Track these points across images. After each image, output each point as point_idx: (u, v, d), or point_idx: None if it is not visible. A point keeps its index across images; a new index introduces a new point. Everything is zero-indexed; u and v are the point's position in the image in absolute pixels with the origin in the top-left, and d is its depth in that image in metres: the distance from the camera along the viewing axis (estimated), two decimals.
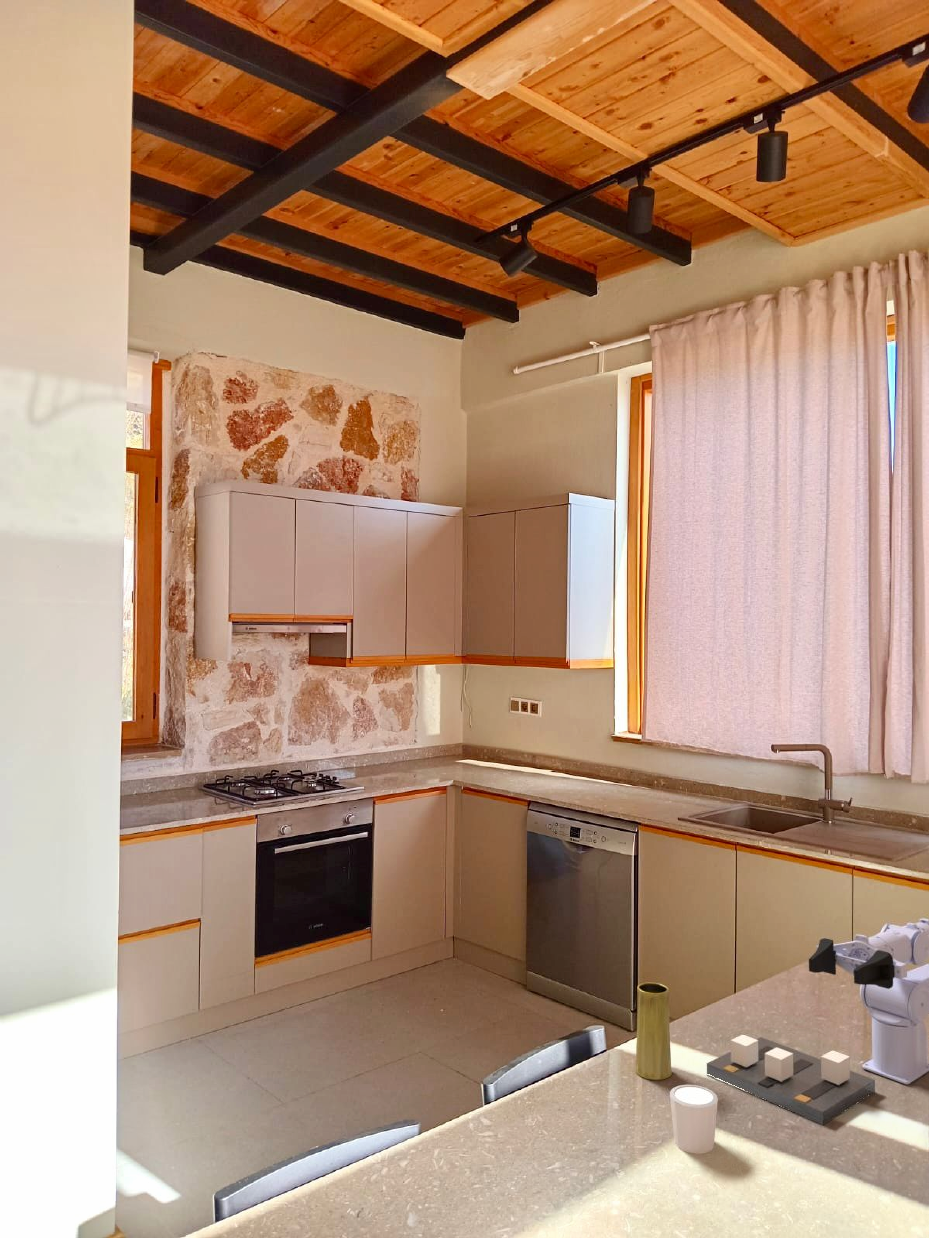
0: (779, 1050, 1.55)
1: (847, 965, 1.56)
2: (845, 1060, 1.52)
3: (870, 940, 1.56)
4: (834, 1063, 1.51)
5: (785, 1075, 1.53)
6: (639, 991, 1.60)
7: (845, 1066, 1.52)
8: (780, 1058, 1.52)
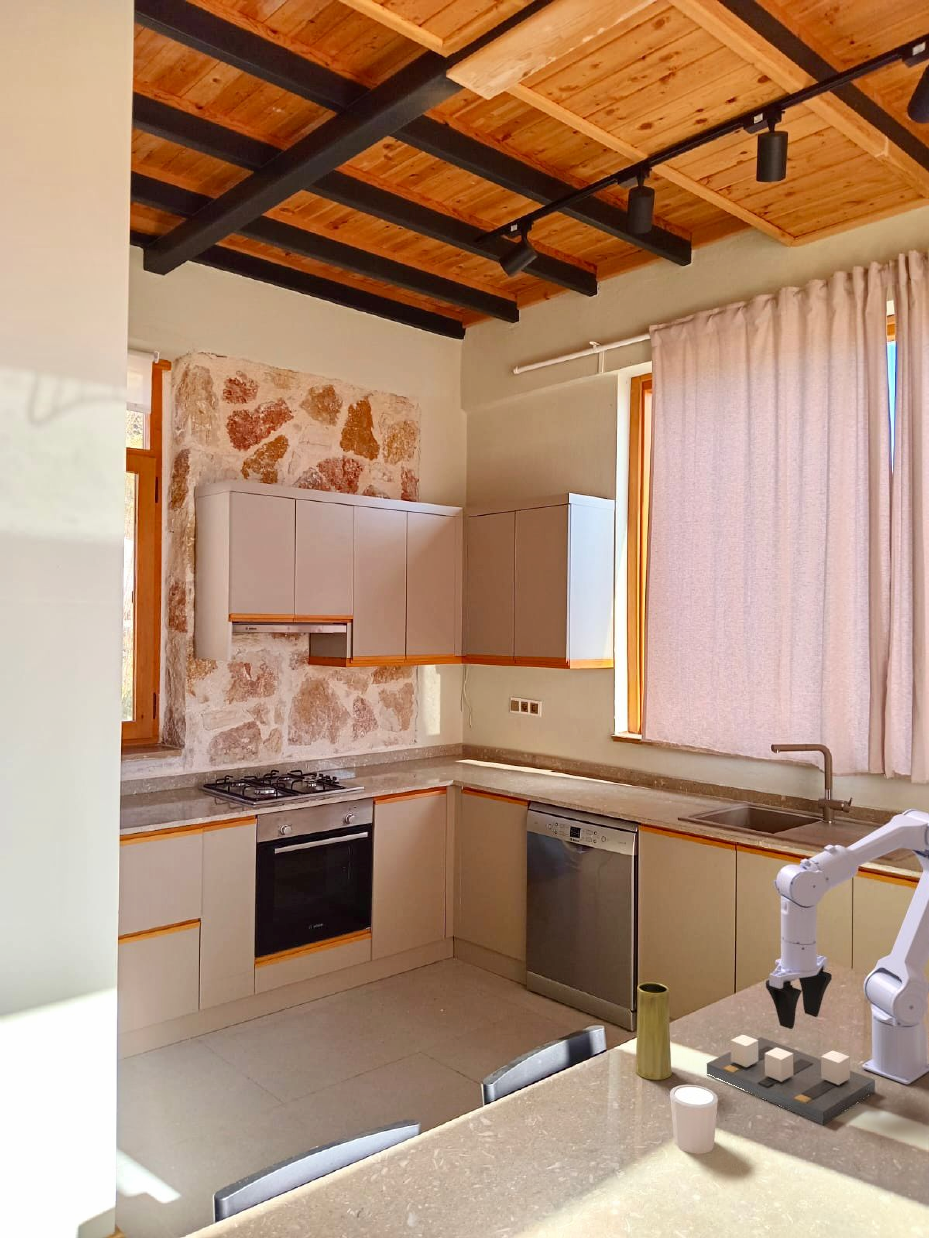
0: (779, 1050, 1.55)
1: None
2: (845, 1060, 1.52)
3: None
4: (834, 1063, 1.51)
5: (785, 1075, 1.53)
6: (639, 991, 1.60)
7: (845, 1066, 1.52)
8: (780, 1058, 1.52)
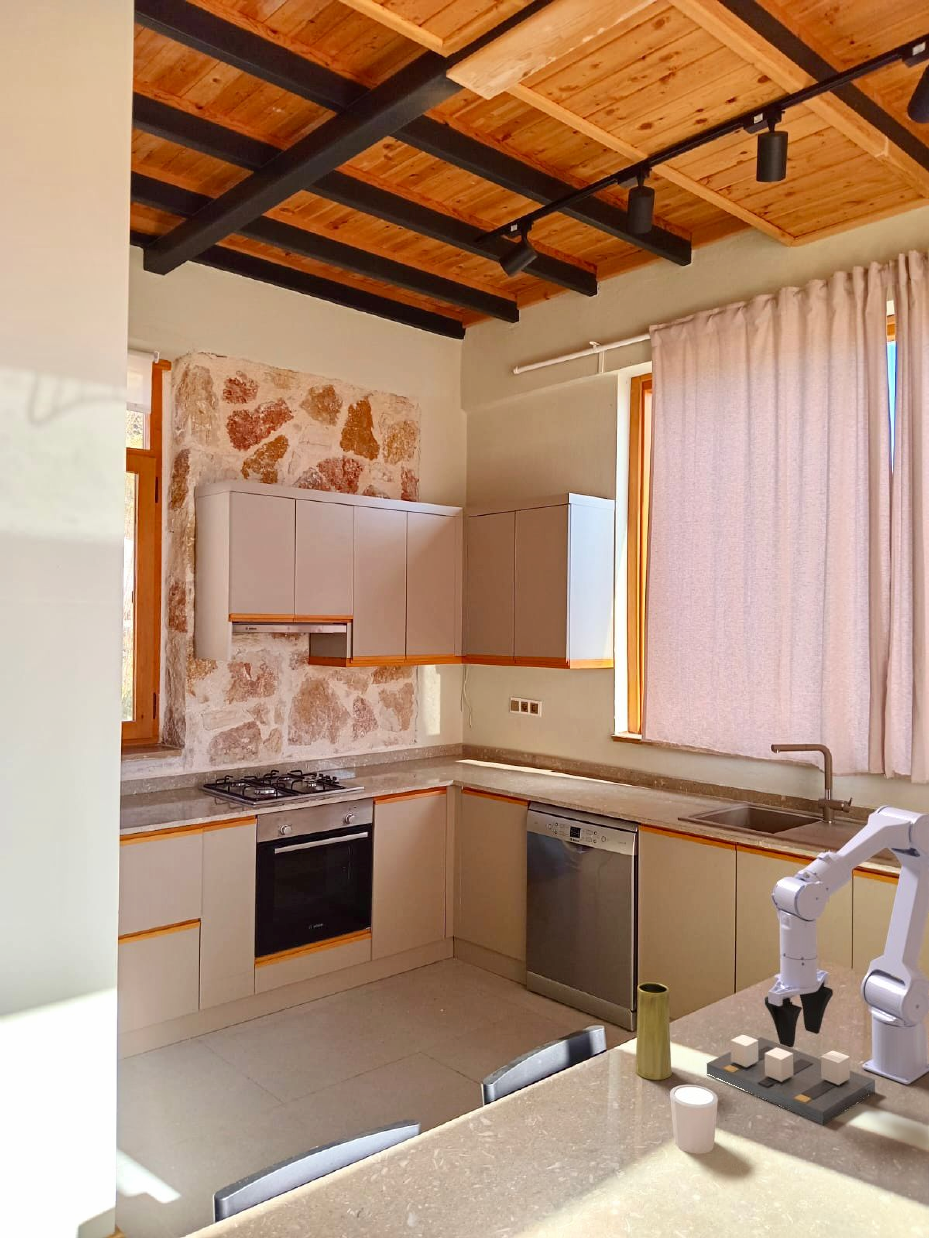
0: (779, 1050, 1.55)
1: None
2: (845, 1060, 1.52)
3: None
4: (834, 1063, 1.51)
5: (785, 1075, 1.53)
6: (639, 991, 1.60)
7: (845, 1066, 1.52)
8: (780, 1058, 1.52)
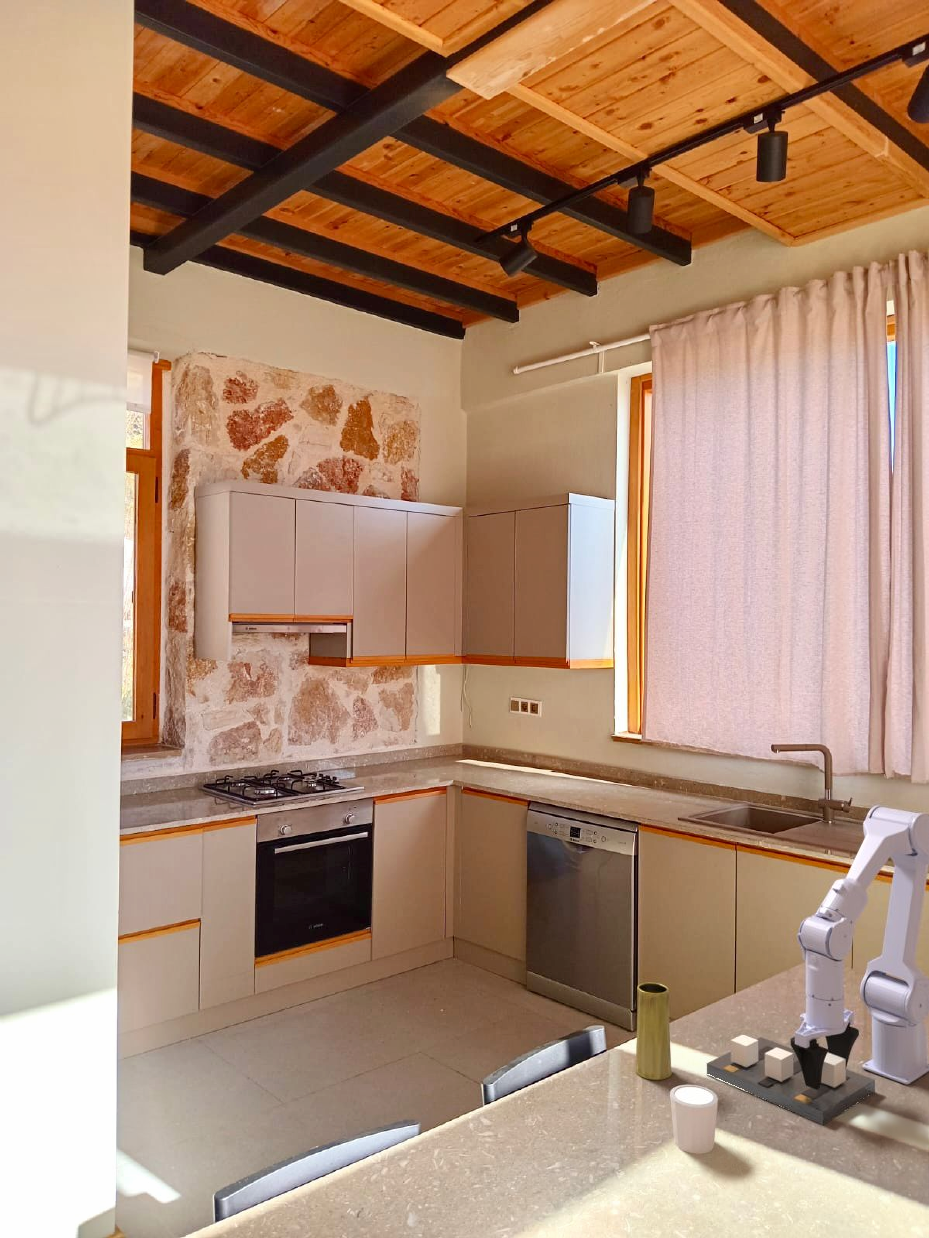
0: (779, 1050, 1.55)
1: None
2: (841, 1062, 1.51)
3: None
4: (830, 1065, 1.50)
5: (785, 1075, 1.53)
6: (639, 991, 1.60)
7: (841, 1068, 1.51)
8: (780, 1058, 1.52)
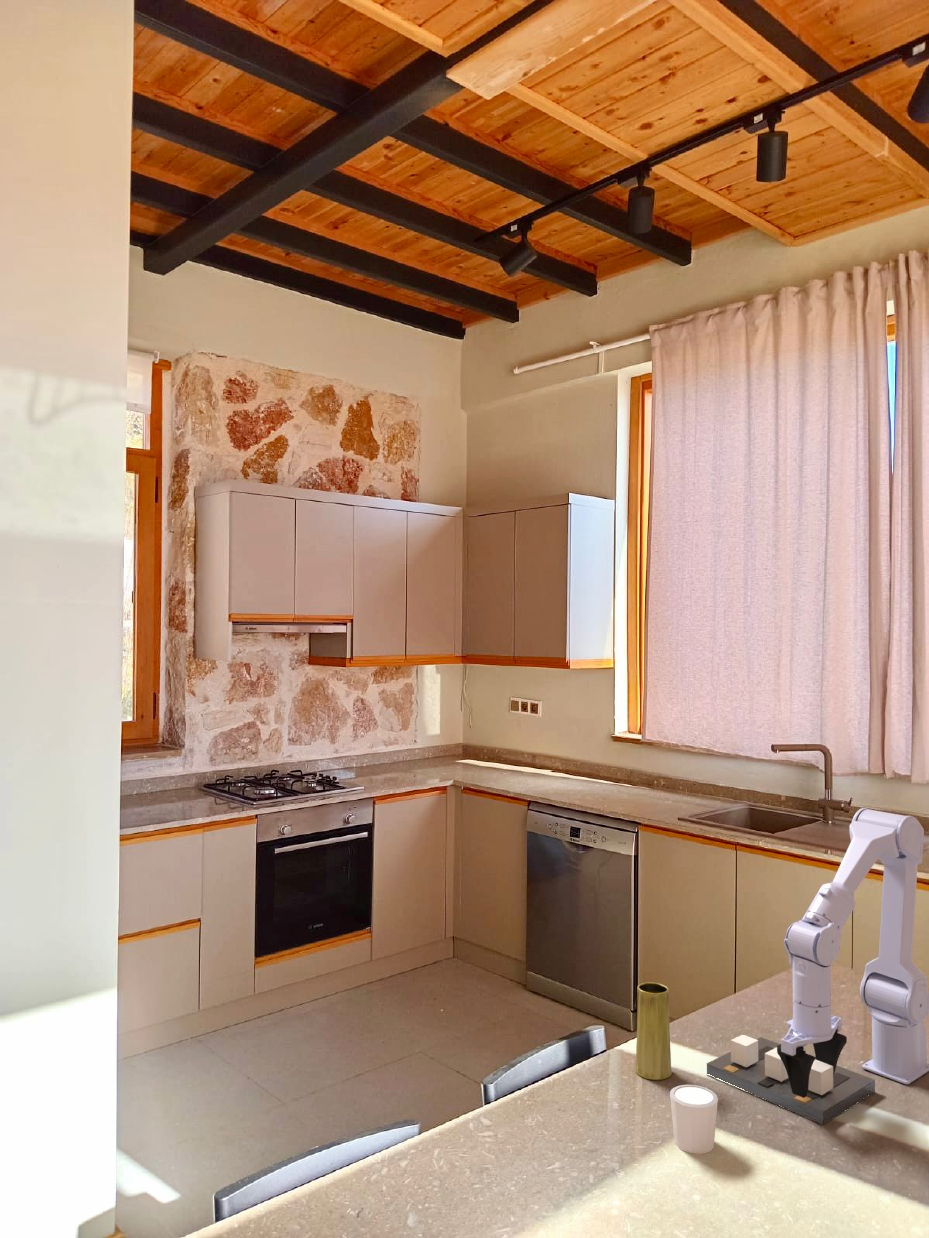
0: None
1: None
2: (828, 1070, 1.49)
3: None
4: (817, 1072, 1.48)
5: (785, 1075, 1.53)
6: (639, 991, 1.60)
7: (828, 1076, 1.49)
8: (780, 1058, 1.52)
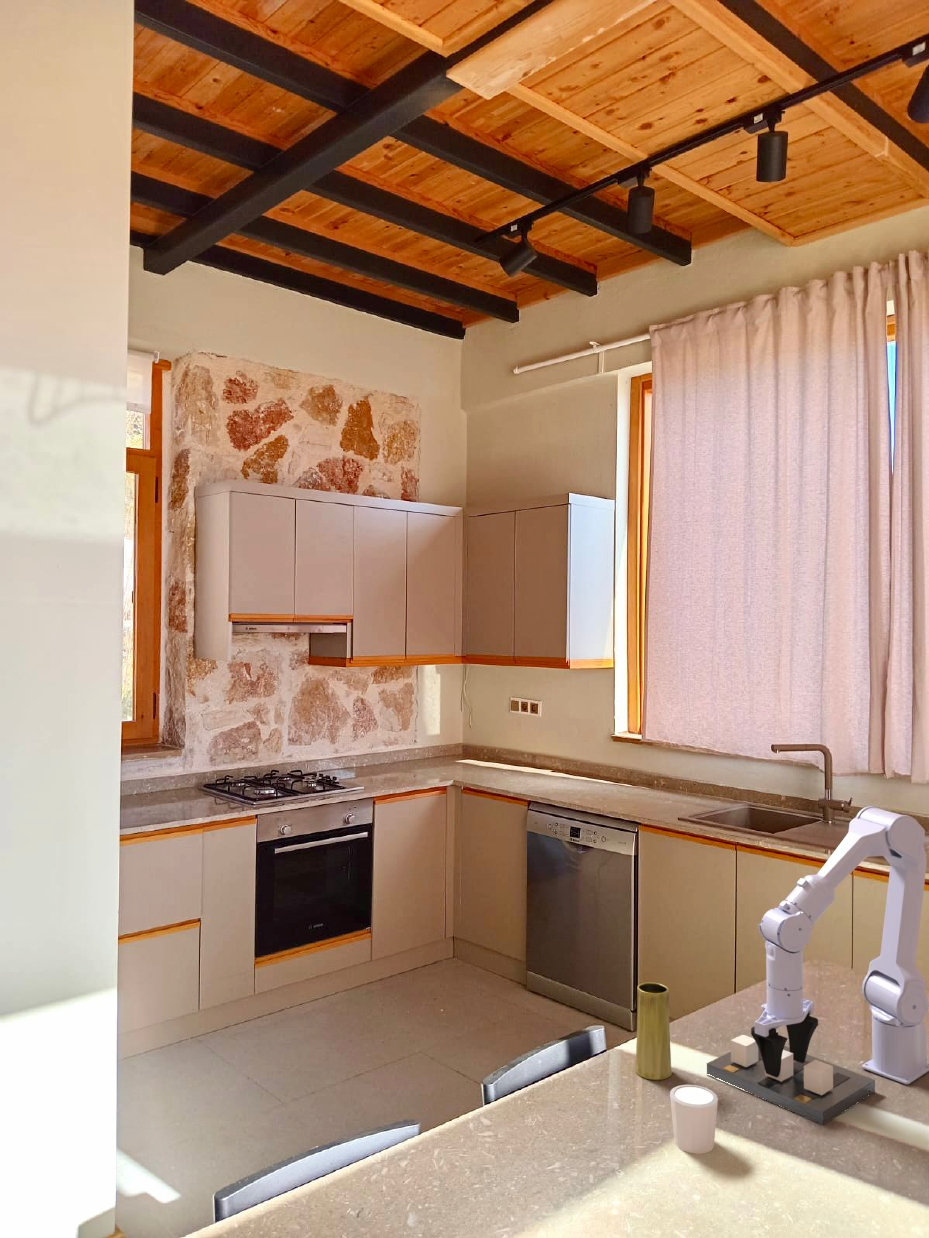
0: None
1: None
2: (828, 1070, 1.49)
3: None
4: (817, 1072, 1.48)
5: (785, 1075, 1.53)
6: (639, 991, 1.60)
7: (828, 1076, 1.49)
8: None
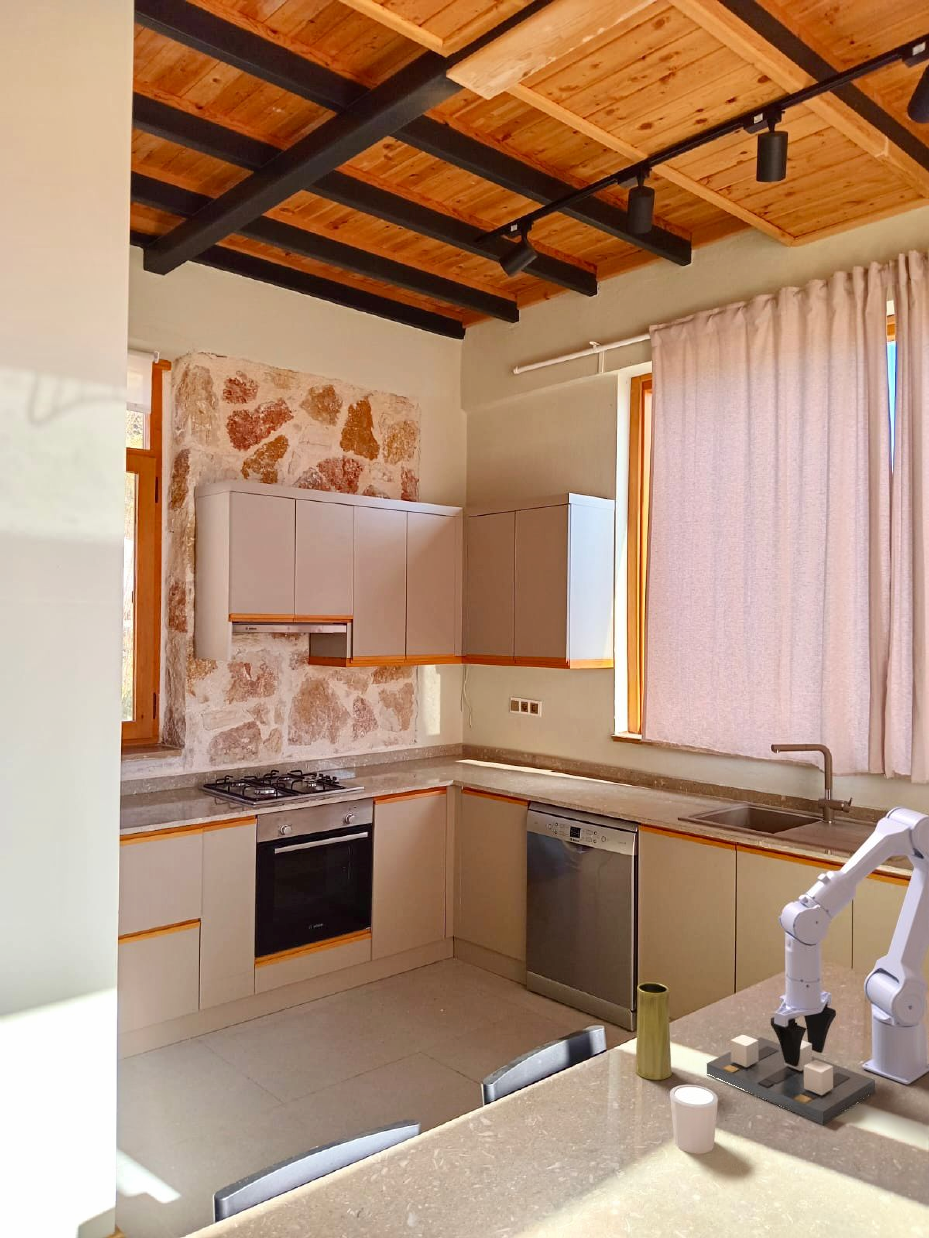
0: None
1: None
2: (828, 1070, 1.49)
3: None
4: (817, 1072, 1.48)
5: (804, 1065, 1.56)
6: (639, 991, 1.60)
7: (828, 1076, 1.49)
8: None
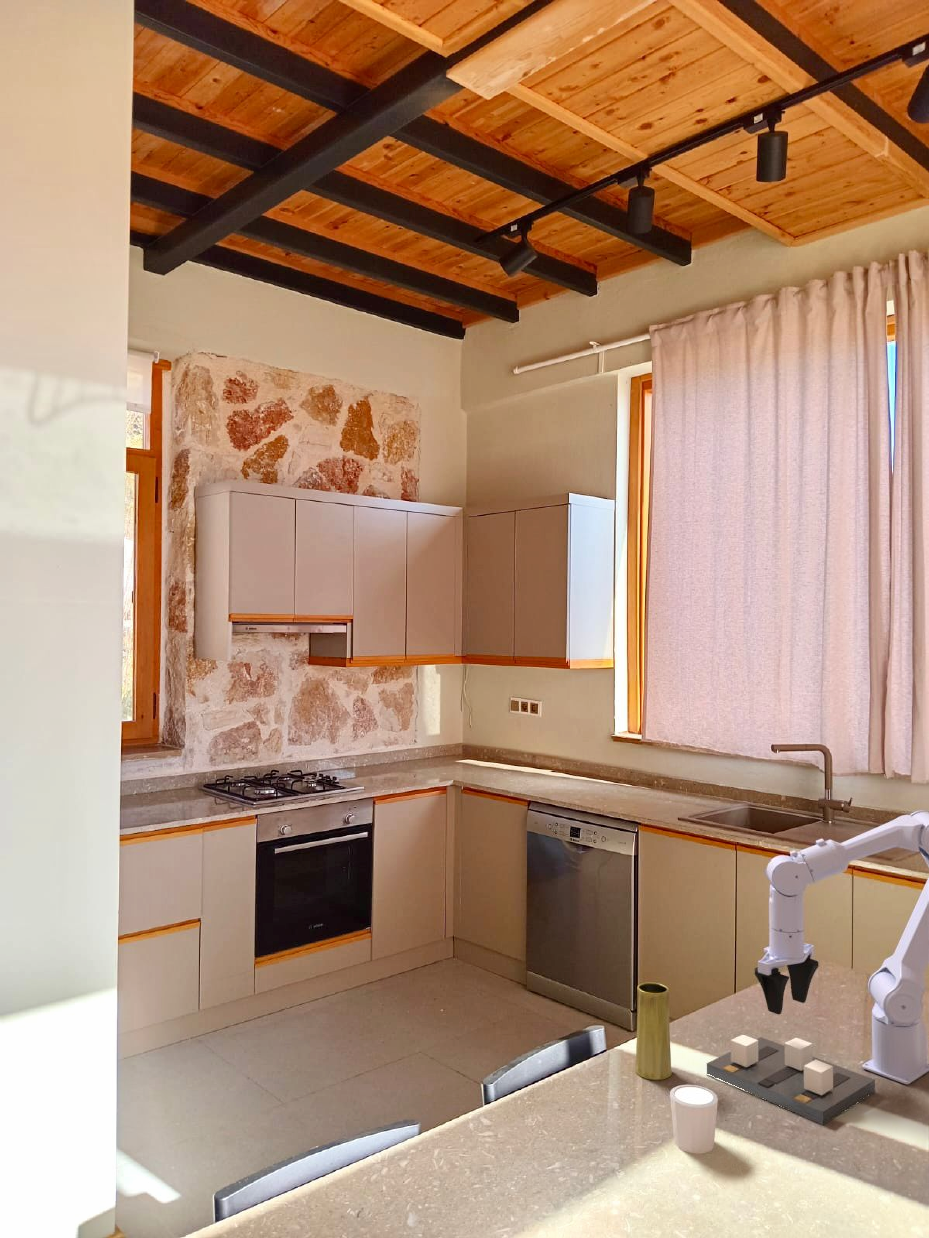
0: (798, 1040, 1.59)
1: None
2: (828, 1070, 1.49)
3: None
4: (817, 1072, 1.48)
5: (804, 1064, 1.56)
6: (639, 991, 1.60)
7: (828, 1076, 1.49)
8: (800, 1047, 1.56)
